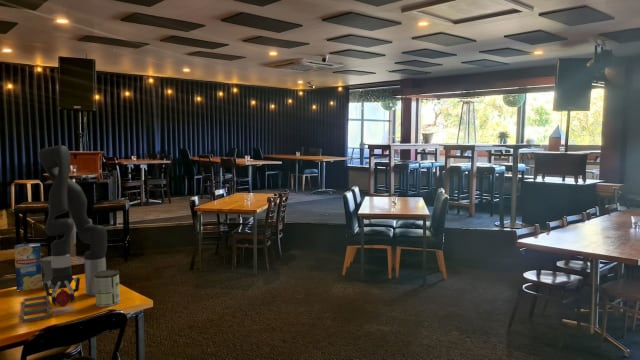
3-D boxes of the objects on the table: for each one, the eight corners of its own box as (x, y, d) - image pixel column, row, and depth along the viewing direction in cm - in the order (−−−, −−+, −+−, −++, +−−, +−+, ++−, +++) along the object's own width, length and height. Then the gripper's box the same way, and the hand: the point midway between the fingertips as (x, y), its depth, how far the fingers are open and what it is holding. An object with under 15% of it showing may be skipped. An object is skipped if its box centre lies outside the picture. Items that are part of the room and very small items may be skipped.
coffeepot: (37, 291, 234) (35, 255, 233) (38, 286, 243) (36, 252, 241) (72, 287, 241) (70, 252, 240) (72, 282, 250) (70, 248, 248)
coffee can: (96, 300, 220) (95, 270, 219) (121, 298, 223) (119, 268, 222) (93, 308, 210) (92, 276, 209) (119, 305, 213) (118, 274, 212)
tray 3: (48, 310, 207) (48, 308, 207) (50, 317, 198) (50, 314, 198) (21, 315, 201) (21, 312, 201) (22, 322, 193) (22, 319, 193)
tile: (72, 306, 212) (72, 305, 212) (75, 311, 205) (74, 310, 205) (52, 310, 207) (52, 308, 207) (53, 315, 201) (53, 314, 200)
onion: (59, 304, 209) (58, 286, 208) (73, 304, 209) (72, 286, 209) (53, 309, 203) (52, 291, 202) (67, 308, 203) (66, 290, 203)
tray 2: (48, 303, 216) (48, 301, 216) (50, 310, 208) (50, 307, 208) (22, 308, 211) (22, 305, 210) (23, 314, 202) (23, 311, 202)
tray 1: (48, 297, 225) (48, 294, 225) (49, 303, 217) (49, 300, 217) (23, 301, 220) (23, 298, 220) (24, 307, 211) (23, 304, 211)
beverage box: (42, 288, 240) (40, 245, 238) (16, 291, 235) (14, 247, 233) (42, 285, 246) (40, 242, 244) (17, 288, 240) (14, 245, 239)
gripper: (78, 260, 212) (80, 298, 213) (41, 265, 204) (43, 304, 205) (81, 264, 205) (82, 302, 207) (42, 269, 198) (44, 309, 199)
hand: (63, 303), depth 206 cm, fingers closed on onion, 6 cm apart
